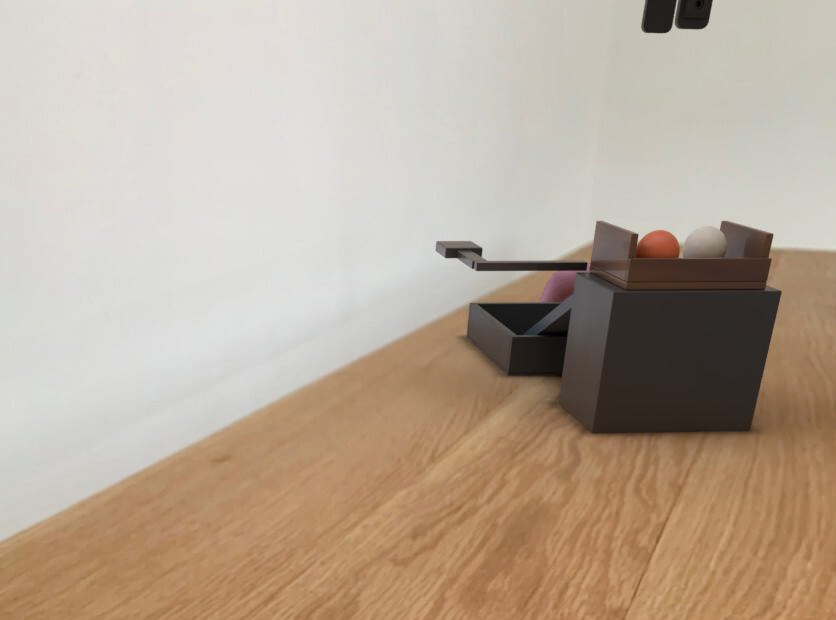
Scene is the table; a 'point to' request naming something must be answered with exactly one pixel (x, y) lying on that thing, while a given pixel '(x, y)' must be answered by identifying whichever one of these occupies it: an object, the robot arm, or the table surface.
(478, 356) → the table surface
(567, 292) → the video game controller
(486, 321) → the tray
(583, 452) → the table surface
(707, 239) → the ball cream
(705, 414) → the plinth
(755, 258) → the tipping trough with lever
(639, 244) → the ball terracotta
